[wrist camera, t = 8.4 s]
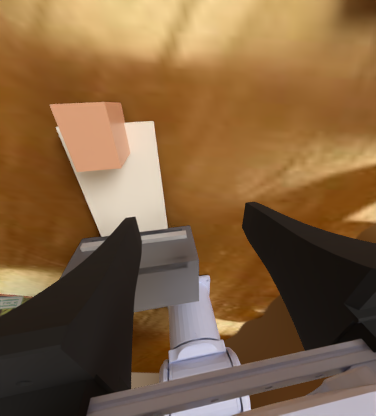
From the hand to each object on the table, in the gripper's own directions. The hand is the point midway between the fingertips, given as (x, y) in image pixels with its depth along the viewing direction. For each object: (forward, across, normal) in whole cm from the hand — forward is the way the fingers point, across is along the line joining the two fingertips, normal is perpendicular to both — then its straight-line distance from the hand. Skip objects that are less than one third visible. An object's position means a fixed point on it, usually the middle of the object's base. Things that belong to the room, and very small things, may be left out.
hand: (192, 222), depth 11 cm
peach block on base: (+8, +6, 0) cm, 10 cm away
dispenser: (+9, +6, +11) cm, 16 cm away
